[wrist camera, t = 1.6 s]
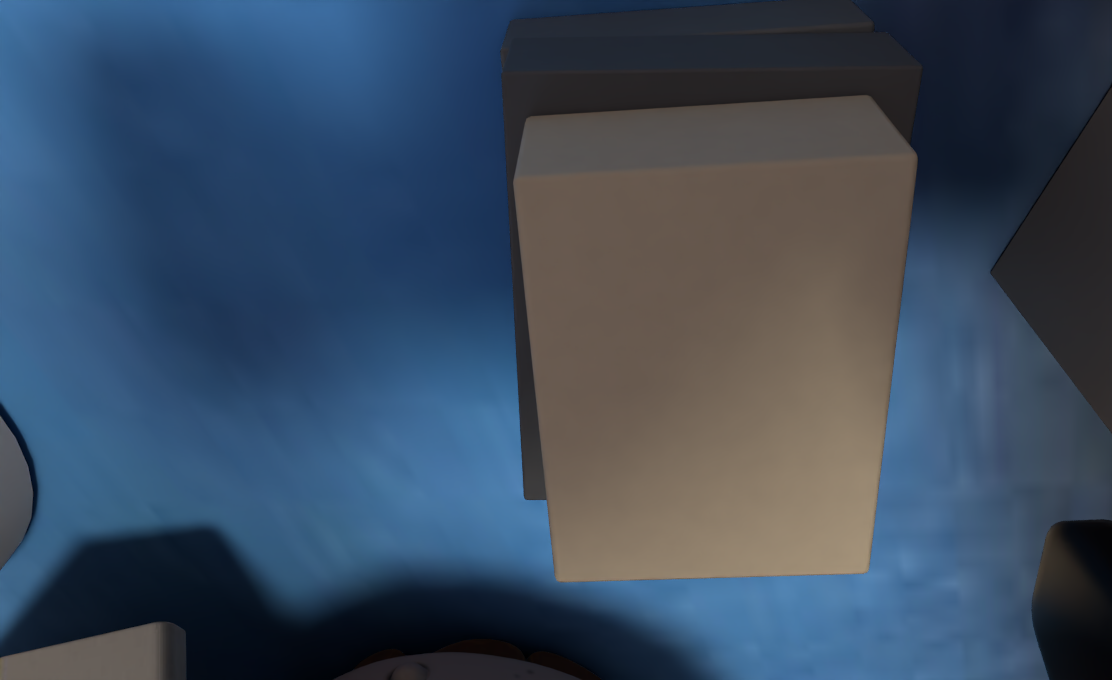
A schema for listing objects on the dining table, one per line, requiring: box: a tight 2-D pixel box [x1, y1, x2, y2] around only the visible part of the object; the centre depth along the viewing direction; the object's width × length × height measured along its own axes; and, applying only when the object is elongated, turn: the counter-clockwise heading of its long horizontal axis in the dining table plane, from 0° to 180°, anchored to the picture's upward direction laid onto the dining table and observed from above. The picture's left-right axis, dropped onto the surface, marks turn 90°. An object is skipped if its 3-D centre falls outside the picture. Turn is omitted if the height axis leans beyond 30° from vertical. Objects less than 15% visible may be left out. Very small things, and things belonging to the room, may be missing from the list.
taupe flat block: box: [513, 95, 918, 582], centre depth 15 cm, size 7×5×2 cm
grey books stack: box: [500, 0, 923, 500], centre depth 18 cm, size 8×6×4 cm
